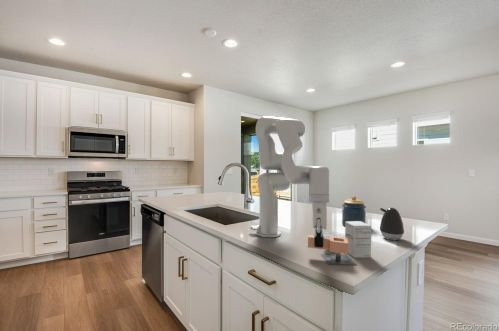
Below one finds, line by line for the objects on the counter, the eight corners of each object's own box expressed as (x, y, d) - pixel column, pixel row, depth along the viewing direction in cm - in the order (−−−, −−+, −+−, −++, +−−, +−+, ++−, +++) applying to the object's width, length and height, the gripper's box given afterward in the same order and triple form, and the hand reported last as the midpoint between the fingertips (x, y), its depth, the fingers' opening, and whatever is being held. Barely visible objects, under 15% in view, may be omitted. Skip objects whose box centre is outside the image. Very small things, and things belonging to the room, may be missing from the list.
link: (346, 248, 95) (346, 238, 95) (348, 254, 89) (348, 243, 89) (308, 243, 100) (308, 233, 99) (307, 248, 93) (307, 238, 93)
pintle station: (328, 264, 89) (328, 249, 89) (321, 254, 99) (321, 240, 99) (356, 265, 88) (356, 250, 88) (346, 254, 98) (346, 241, 98)
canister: (369, 228, 138) (370, 197, 138) (346, 228, 138) (347, 197, 138) (359, 223, 151) (360, 194, 151) (338, 223, 151) (339, 194, 151)
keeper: (323, 250, 103) (323, 236, 102) (319, 246, 109) (320, 232, 109) (336, 251, 102) (337, 236, 102) (332, 246, 108) (332, 232, 108)
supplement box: (344, 251, 103) (344, 221, 102) (361, 250, 103) (361, 220, 103) (353, 258, 95) (353, 225, 95) (371, 257, 96) (371, 225, 96)
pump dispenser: (383, 234, 128) (383, 205, 127) (406, 238, 120) (406, 207, 120) (376, 238, 120) (376, 207, 120) (400, 243, 113) (400, 210, 113)
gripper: (329, 201, 86) (329, 253, 86) (328, 196, 102) (328, 240, 102) (307, 200, 89) (307, 251, 89) (310, 195, 104) (310, 238, 104)
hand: (318, 245), depth 95 cm, fingers closed on link, 3 cm apart
